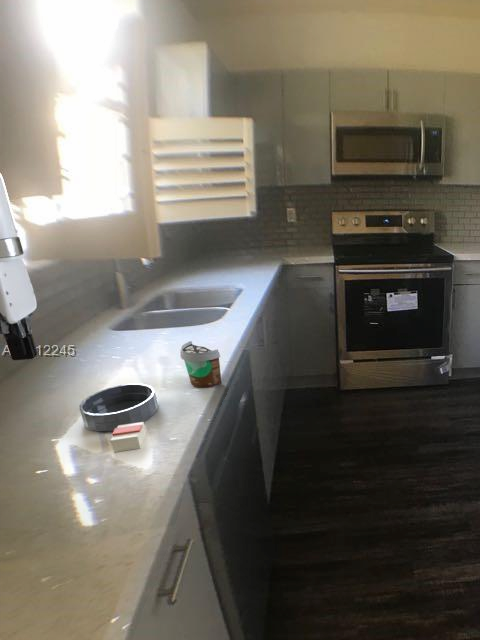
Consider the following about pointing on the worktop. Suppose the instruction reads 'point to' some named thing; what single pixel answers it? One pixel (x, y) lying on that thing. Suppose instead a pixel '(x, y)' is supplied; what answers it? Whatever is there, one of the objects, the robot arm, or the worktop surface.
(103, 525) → the worktop surface
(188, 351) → the food container
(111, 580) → the worktop surface
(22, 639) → the worktop surface
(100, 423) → the pan
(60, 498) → the worktop surface
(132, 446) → the block
